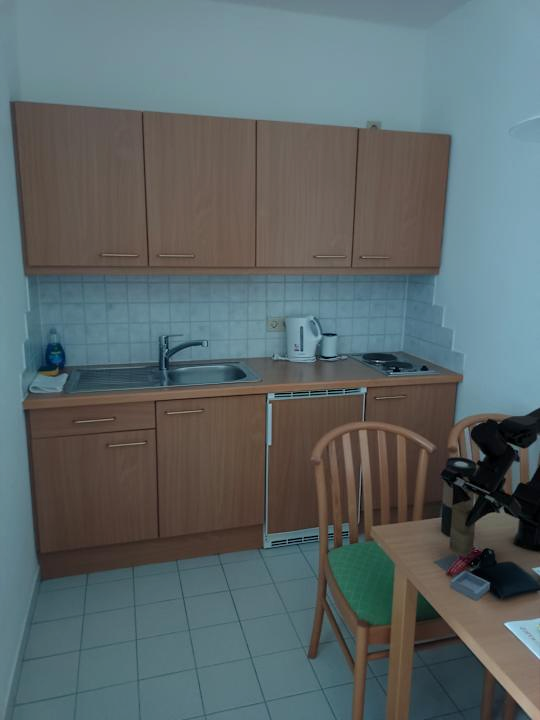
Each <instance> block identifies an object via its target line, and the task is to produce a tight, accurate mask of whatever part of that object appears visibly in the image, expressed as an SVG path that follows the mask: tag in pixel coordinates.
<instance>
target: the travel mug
mask: <svg viewBox="0 0 540 720" xmlns="http://www.w3.org/2000/svg"><path fill="white" fill-rule="evenodd" d="M476 463H477V462H475V461H474V460H472V459H469V458H466V457H459V456H458V457H457V456H454V457H448V458H447V459H446V461H445V468H449V469H452V470H454V471H456V472H459V473H460V475H461V476H462V477H463V478H464V479H465V480H466V481H468V482H469V480H468V478H467V477H468V476H469V474H470V475H472V476H473V474H474V473H475V471H476V470H477V468H478V465H477V464H476ZM473 489H474V488H473ZM468 496H469V497H470V498H471V500H469V501H467V502H466V503H468V504H470V505H472V506H474V504H475V501H474V500H475V493H473V492H470V491H469V493H468ZM441 501H442V502H441V503H442V504H441V524H440V525H441V526H440V531H441V533H442V534H443V536H446V537H448V538H450V533H451V520H452V518H451V510H452V502H453V488H451V487H449V486H448V485H447V484H446V483H445V482H444V481H443V491H442V500H441Z"/></svg>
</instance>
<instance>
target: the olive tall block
mask: <svg viewBox="0 0 540 720" xmlns="http://www.w3.org/2000/svg"><path fill="white" fill-rule="evenodd" d="M473 506H474V505H473ZM473 506H472V505H470V504H468V503H466V502H464V501H463V502H460V503H457V504H454V505H452V520H451V533H450V537H449V548H448V549H449V550H450V551H451V552H453V553H455V554H456V555H458V556H460V557H465V556H467V555H469V554H472V553H473V551H474V540H475V531H476V522H475V523H474V524H472V525H471V526H469V527H466V525H465V523H466V521H467V518H468V516H469V514H470V512H471V510H472V508H473Z"/></svg>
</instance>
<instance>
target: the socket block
mask: <svg viewBox="0 0 540 720" xmlns="http://www.w3.org/2000/svg"><path fill="white" fill-rule="evenodd" d="M490 587H491V582H489V581H488V580H485V579H483V578H482V577H480V576H478V575H475V574H472V572H470V573H469V572H467V571H465V570H464V571H463V572H462V573H460V574H459V575H458V576H456V577H453V579H451V580H450V587H449V588H450V589H452V590H454V591H456V592H458V593H459V594H461V595H464V596H466V597H468V598H470V599H472V600H474V601H476V602H477V601H478V600H479V599H480V598H481V597H482V596H484V594H486V593H487V592H488V591H490Z"/></svg>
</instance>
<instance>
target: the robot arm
mask: <svg viewBox="0 0 540 720" xmlns="http://www.w3.org/2000/svg"><path fill="white" fill-rule="evenodd" d="M539 433H540V407H538V408H536V409H535V410H533V411H531V412H529V413H527V414H525V415H516V416H515V415H514V416H510V417H505V418H504V419H503V420H502V421H501V422H498V421H497V420H495V419H493V418H488V419H487V420H486V421H485V422H480V423H478V424H476V425H475V426H473V427H472V429H471V430H470V438H471V440H472V442H473V443H474V444H475V445H476V447H477V448H478V449H479V450H480V451H481V453H482V454H483V455H485V456H484V458H483V459H482V460H481V459H480V460H479V459H478V460H477V462H475V463H476V464H477V468H476V471H475V473H474V474H473V476H472V475H470V474H469V476H468V477H467V478H468V480H469V482H468V481H466V480H465V479H464V478H463V477H462V476H461V475H460V473H459V472H456V471H454V470H452V469H449V468H446V467H444V468H443V469H441V472H440V473H439V475H438V476H439V477H440V478H441V479H442V481H443V483H444V482H445V483H446V484H447V485H448V486H449V487H451V488H453V502H452V505H454V504H457V503H460V502H463V501H464V502H467V501H469V500H471V498H470V497H469V496H468V493H469V491H470V492H473V493H474V495H477V496H478V497H477V499H476V501H474V504H473V508H472V510H471V512H470V514H469V516H468V518H467V521H466V523H465V525H466V527H469V526H471V525H472V524H474V523H475V524H476V522H478V521H479V520H480V519H482V518H483V517H485V516H487V515H488V514H492V513H496V514H500V513H501V509H503V511H504V513H505V514H507V515H509V516H510V517H513V518H515V519H518V525H517V532H516V533H515V538H514V540H513V545H516V546H519V547H523V548H526V549H530V550H533V551H537V552H540V463H539V464H538V467H537V468H536V470H535V472H534V473H533V475H532V477H531V479H530V480H529V481H528V482H526V483H525V482H522V481H521V482H519V483H518V484H517V486H516V488H515V490H514V491H513V492H512V493H511V494H510V493H507V492H506V491H505V490H504V486H505V484H506V481H507V479H506V477H505V476H506V475H507V473H508V471H509V469H511V467H512V465H513V464H514V462H516V463H520V461H521V457H520V455H519V450H518V449H514V447H513V446H515V447H518V448H521V449H523V450H524V449H528V448H530V447H531V445H533V444H534V443H535V442H536V441H537V440H538V434H539ZM473 488H474V489H473ZM451 518H452V510H451Z"/></svg>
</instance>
